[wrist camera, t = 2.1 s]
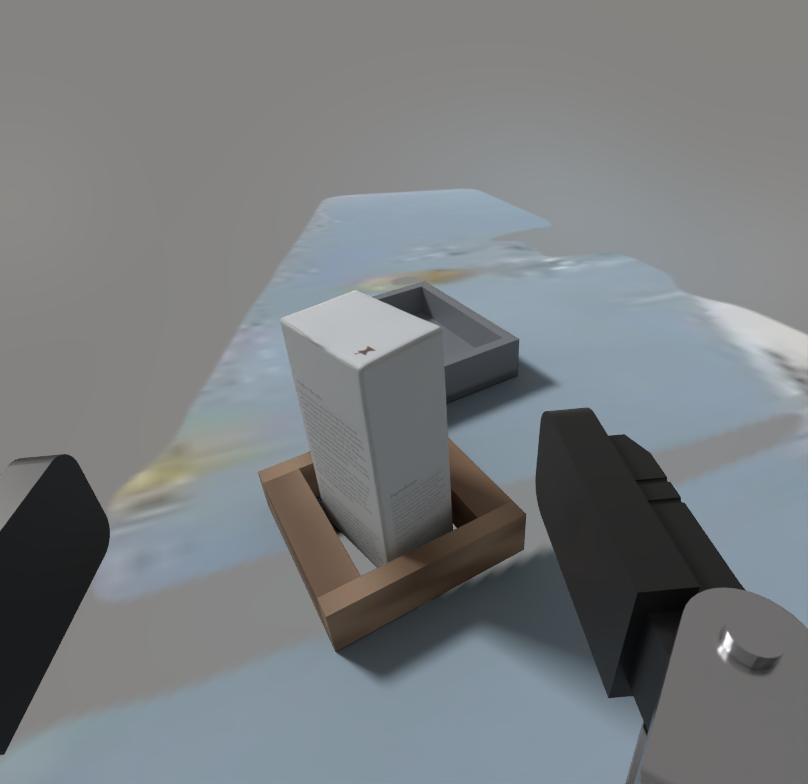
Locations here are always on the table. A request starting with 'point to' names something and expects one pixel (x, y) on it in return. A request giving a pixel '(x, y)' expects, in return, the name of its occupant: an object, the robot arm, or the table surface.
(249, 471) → the table surface
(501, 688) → the table surface
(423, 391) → the skincare box
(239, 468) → the table surface
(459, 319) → the tray
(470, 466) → the socket block
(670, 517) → the robot arm
